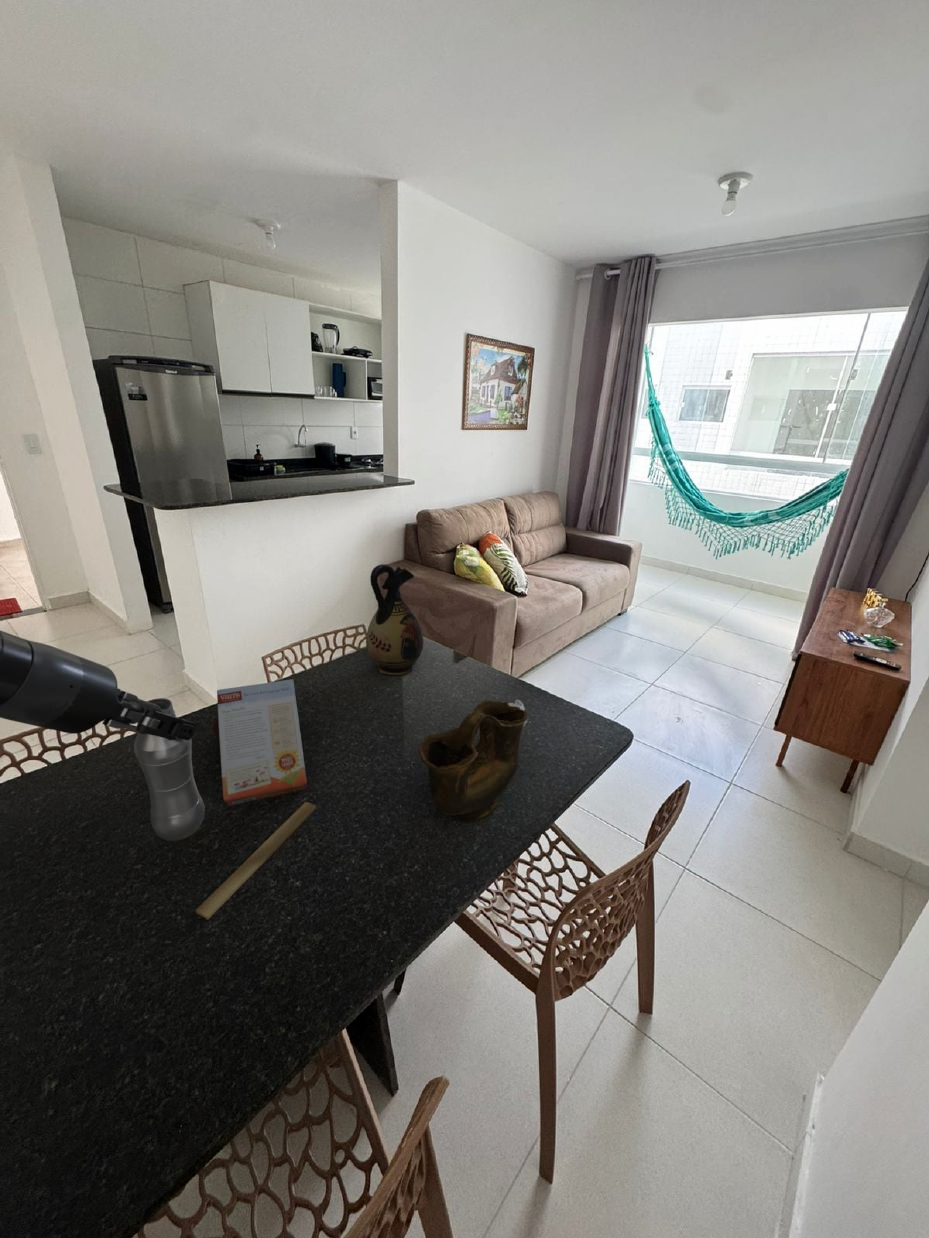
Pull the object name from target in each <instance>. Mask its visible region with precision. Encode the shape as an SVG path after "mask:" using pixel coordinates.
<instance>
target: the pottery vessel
mask: <svg viewBox="0 0 929 1238" xmlns="http://www.w3.org/2000/svg"><path fill="white" fill-rule="evenodd" d="M508 703H509V702H508V701H504V702H502V701H494V700H491V699H489V700H488V699H487V700H486V699H485V700H483V701H482V702H479V703H478V704H477V705H476V706H475V707H474V708H473V711H472V712H470V713H469V714H467V715H466V717H465V718H464V719H463V720H462V721H461V723H460V725H459V726H458V727H455V728H452V729H450V730H448V731H444V732H440V733H434V734H431V735H427V736H425V737H424V738H423V740H422V741H421V742H420V743H418V745H417V746H418V751H417V753H418V755H419V757H420V761H421V762H422V763H423V764H424V765H425V766H426V767H427V768H428V778H429V779H428V781H429V782H428V786H429V790H430V794H431V799H433V801H434V804H435V805H436V807H437V808H438V809H439V811H440V812H441V813H443V814H444V815H446V816H451V817H452V816H453V817H455V818H457V819H459V821H461V822H465V823H467V822H468V823H469V822H478V821H481V820H483V819H485V818H487V817H488V816H490V815H492V813H493V812H494V811H495V810H497V808H498V806H499V805H500V796H501V795H502V794H503V792H504V791H505V790H506V789H507V787H508V785H509V784H510V783H511V780H512V779H513V777H514V776H515V774H516V773H517V770H518V768H519V746H520V741H521V736H522V730H523V728H524V727H523V724H524V722H525V721H526V720H527V721H528V716H529V713H528V711H527V710H525V711H524V710H521V709H520V707H515V706H509V705H508ZM478 730H479V741H478V742H477V744H476V745H475V743H474V742H475V737H476V735H477V734H478Z"/></svg>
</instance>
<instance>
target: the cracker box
mask: <svg viewBox="0 0 929 1238" xmlns="http://www.w3.org/2000/svg"><path fill="white" fill-rule="evenodd" d="M295 691H296V690H295V684H294V679H293V678H292V679H285V680H278V681H277V680H276V681H270V682H264V683H257V684H249V685H243V686H236V687H228V688H221V689H216V700H217V714H218V715H217V716H218V720H219V736H220V745H219V754H220V767H221V780H222V781H221V782H222V796H223V801H224V803H225V804H226V805H227V807H230V806H234V805H239V804H243V803H248V802H252V801H257V800H262V799H265V798H271V797H275V796H280V795H283V794H289V793H294V792H298V791H303V790H306V789H307V783H308V781H307V775H306V774H307V773H306V766H305V759H304V752H303V751H304V750H303V743H302V736H301V729H300V728H301V727H300V719H299V713H298V707H297V699H296V692H295Z"/></svg>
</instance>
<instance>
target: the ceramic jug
mask: <svg viewBox="0 0 929 1238" xmlns="http://www.w3.org/2000/svg"><path fill="white" fill-rule="evenodd" d="M384 573H387V577H386V578H385V580H384V582H383V584H382V586H381V588H382V589H383V590H386V594H385V597H384V596H383V594H382V591H381V588H380V584H379V577H380V576H381V575H383V574H384ZM369 577H370V586H371V588H372V591H373V594H374V597H375V601H376V602H377V610H376V611H375V613H374V614H373V616H372V618H371V620H370V622H369V625H368V628H367V630H366V631H367V632H366V637H365V647H366V652H367V655H368V656H369V658H370V660H371V661H372V662H373V663H374V664H376V666H377V667H378V671H379V673H382V674H385V675H388V676H403V675H407V674H410V673H412V672H413V668H414V667H413V666H414V665H415V664H416V662H417V661H418V660H419V658H420V657H421V655H422V652H423V649H424V635H423V631H422V627H421V624H420V622H419V620H418V617H416V615H415V613H414V612H413V611H412V609H411V608H410V606H409V605H408V604H407V602H405V600H404V598H402V596H401V591H400V588H401V587H402V586H403V585H404V584H405V583H406V582H408V581H411V580H412V579H414V577H415V576H414V574H413V573H412V572H411V571H409V569H406V568H401V567H400V566H396V569H394V568H393V567H392V566H391V565H388V564H383V563H381V564H378V565H375V567H373V569H372V571H371V572H370V575H369Z"/></svg>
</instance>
